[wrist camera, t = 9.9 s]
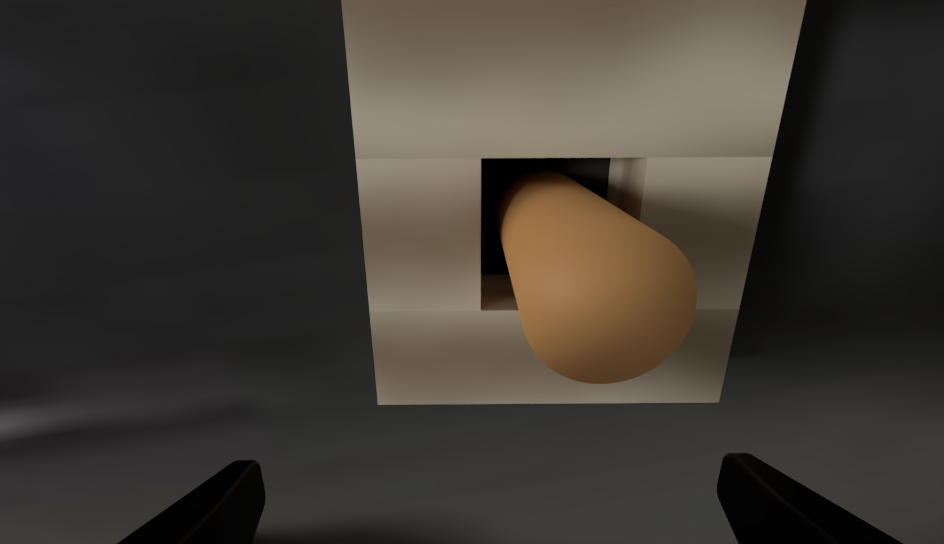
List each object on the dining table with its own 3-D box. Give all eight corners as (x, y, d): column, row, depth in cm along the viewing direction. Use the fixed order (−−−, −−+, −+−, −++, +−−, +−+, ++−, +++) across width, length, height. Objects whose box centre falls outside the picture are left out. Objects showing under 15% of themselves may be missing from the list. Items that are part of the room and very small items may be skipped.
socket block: (675, 352, 22) (718, 402, 18) (393, 354, 22) (377, 404, 18) (757, -123, 15) (850, -200, 12) (359, -122, 15) (323, -199, 12)
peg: (582, 258, 20) (682, 383, 11) (495, 259, 20) (519, 384, 11) (590, 169, 19) (711, 223, 9) (496, 170, 19) (524, 224, 9)
